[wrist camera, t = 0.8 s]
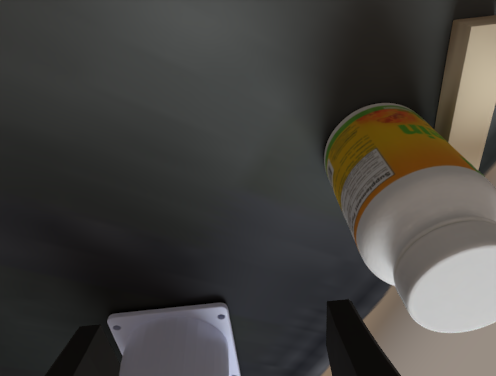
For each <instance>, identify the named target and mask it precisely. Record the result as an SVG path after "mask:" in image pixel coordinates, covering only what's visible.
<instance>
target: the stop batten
mask: <svg viewBox="0 0 496 376" xmlns="http://www.w3.org/2000/svg"><path fill="white" fill-rule="evenodd" d="M495 103H496V15H492V16H484V17H475V18H466V19H458V20H453V25H452V30H451V36H450V42H449V48H448V53H447V59H446V65H445V70H444V76H443V82H442V88H441V93H440V99H439V105H438V111H437V116H436V122H435V128H434V130H435V131H436V132H437V133H438V134H440V135H441V136H442V137H443V138H444V139H445V140H446V141H447V142H448V143H449V144H450V145H451V146H452V147H453V148H454V149H456V150H457V151H458V152H459V153H460V154H461V155H462V156H463V157H464V158H465V159H466V160H467V161H468V162H470V163H471V164H472V165H473V166H474V167H475V168H476V169H477V170H478V169H479V165H480V161H481V157H482V154H483V150H484V146H485V142H486V138H487V134H488V130H489V126H490V122H491V119H492V115H493V111H494V107H495Z"/></svg>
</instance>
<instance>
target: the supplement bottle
mask: <svg viewBox="0 0 496 376" xmlns="http://www.w3.org/2000/svg"><path fill="white" fill-rule="evenodd" d="M324 165H325V170H326V173H327V176H328V179H329V181H330V184H331V186H332V189H333V191H334V193H335V195H336V198H337V200H338V203H339V205H340V207H341V210H342V212H343V215H344V217H345V219H346V222H347V224H348V226H349V229H350V231H351V233H352V236H353V238H354V241H355V243H356V245H357V248H358V250H359V253H360V254H361V256H362V258H363V260H364V262H365V264H366V265H367V267H368V268H369V269H370V270H371V271H372V272H373V273H374V274H375V275H376V276H377V277H379V278H380V279H381V280H383V281H385V282H387V283H388V284H391V285H393V286H395V287H396V290H397V292H398V294H399V296H400V297H401V299H402V301H403V303H404V305H405V306H406V309H407V310H408V312H409V314H410V316H411V317H412V318H413V319H414V321H416V322H417V323H418V324H419V325H421V326H422V327H424V328H426V329H429V330H432V331H435V332H443V333H459V332H467V331H472V330H476V329H479V328H482V327H485V326H487V325H490V324H492V323H495V322H496V188H495V187H494V186H493V185H492V184H491V182H490V181H489V180H488V179H487V178H486V177H485V176H484V175H482V174H481V173H480V172H479V171H478V170H477V169H476V168H475V167H474V166H473V165H472V164H471V163H470V162H468V161H467V160H466V159H465V158H464V157H463V156H462V155H461V154H460V153H459V152H458V151H457V150H456V149H454V148H453V147H452V146H451V145H450V144H449V143H448V142H447V141H446V140H445V139H444V138H443V137H442V136H441V135H440V134H438V133H437V132H436V131H435V130H434V129H433V128H432V127H431V126H430V125H429V124H428V123H427V122H426V121H425V120H424V119H423V118H422V117H420V116H419V115H418V114H417V113H415V112H414V111H413V110H411V109H409V108H407V107H405V106H402V105H399V104H394V103H378V104H372V105H368V106H365V107H363V108H360V109H358V110H356V111H354V112H353V113H351V114H350V115H348V116H347V117H346V118H345V119H343V120H342V121H341V122H340V123H339V124H338V126H337V127H336V128H335V129H334V131H333V132H332V134H331V135H330V137H329V139H328V141H327V144H326V148H325V154H324Z"/></svg>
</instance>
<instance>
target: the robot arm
mask: <svg viewBox="0 0 496 376" xmlns="http://www.w3.org/2000/svg"><path fill="white" fill-rule="evenodd" d="M220 314H222V315H220ZM107 323H108V326H109V328H110V330H111V332H112V334H113V337H114V339H115V341H116V343H117V345H118V347H119V350H120V352H121V354H122V356H123V357H122V361H121V365H120V363H119V361H118V359H117V357H116V355H115V353H114V351H113V349H112V347H111V345H110V343H109V341H108V339H107V337H106V335H105V333H104V331H103V329H102V326H101V325H92V326H82V327H79V329H78V330H77V331H76V332H75V334H74V335H73V337H72V338H71V339H70V341H69V342H68V344H67V345H66V347H65V348H64V349H63V351H62V352H61V354H60V355H59V356H58V358H57V359H56V361H55V362H54V364H53V365H52V366H51V368H50V369H49V370H48V372H47V373H46V375H45V376H241V374H240V368H239V363H238V358H237V353H236V348H235V342H234V337H233V332H232V327H231V322H230V316H229V311H228V307H227V305H226V304H225V303H210V304H201V305H191V306H182V307H172V308H163V309H153V310H144V311H134V312H125V313H115V314H111V315H110V316H109V317H108V320H107ZM326 346H327V351H328V357H329V362H330V367H331V371H332V376H401V375H400V374H399V373H398V371H397V370H396V368H395V367H394V366H393V364H392V363H391V362H390V360H389V359H388V358H387V356H386V355H385V353H384V352H383V351H382V349H381V348H380V346H379V345H378V344H377V342H376V340H375V339H374V337H373V336H372V334H371V333H370V331H369V330H368V328H367V327H366V325H365V324H364V322H363V320H362V319H361V317H360V315H359V314H358V312H357V310H356V308H355V307H354V305H353V303H352V302H351V301H350V300H349V299H346V300H337V301H327V330H326Z"/></svg>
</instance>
